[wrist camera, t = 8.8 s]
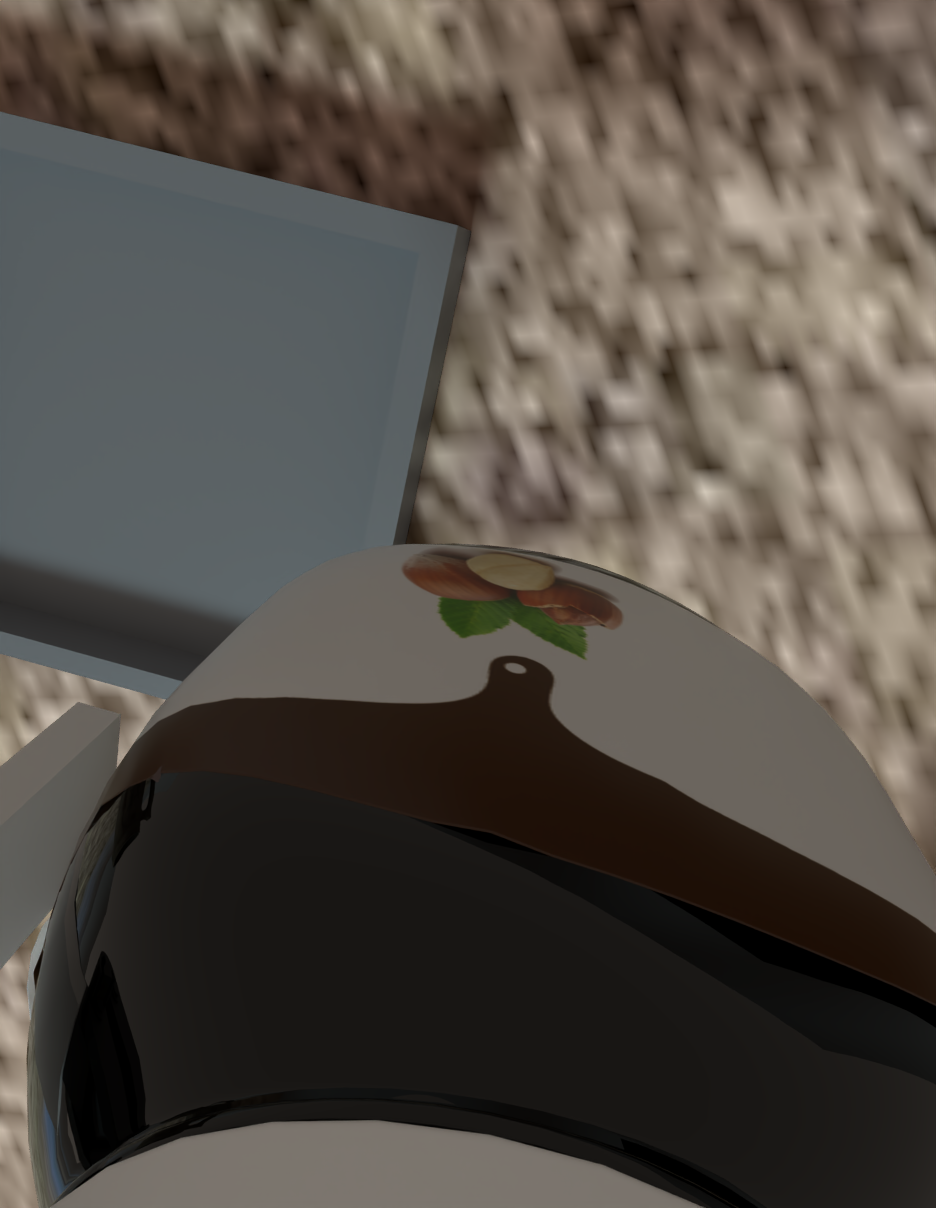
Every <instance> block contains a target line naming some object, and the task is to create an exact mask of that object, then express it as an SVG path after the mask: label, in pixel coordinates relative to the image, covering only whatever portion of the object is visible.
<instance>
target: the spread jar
mask: <svg viewBox="0 0 936 1208" xmlns="http://www.w3.org/2000/svg"><path fill="white" fill-rule="evenodd" d="M27 992H28V1002H29V1011H30V1026H29V1033H28V1047H27V1110H28V1142H29V1150H30V1158H31V1165H32V1172H33V1178H34V1183H35V1189H36V1195H37V1201H38V1206H39V1208H936V875H935V874H934V872H933V870H932V869H931V867H930V865H929V864H928V862H927V860H926V858H925V857H924V855H923V853H922V852H921V850H920V848H919V847H918V845H917V843H916V842H915V840H914V838H913V837H912V835H911V833H910V832H909V830H908V828H907V826H906V825H905V823H904V821H903V820H902V818H901V816H900V814H899V813H898V811H897V809H896V808H895V806H894V804H893V802H892V801H891V799H890V797H889V796H888V794H887V792H886V791H885V789H884V787H883V786H882V784H881V783H880V781H879V780H878V778H877V776H876V775H875V773H874V772H873V770H872V769H871V767H870V766H869V764H868V762H867V761H866V759H865V758H864V757H863V755H862V754H861V753H860V752H859V750H858V749H857V748H856V746H855V745H854V744H853V743H852V741H851V740H850V739H849V738H848V736H847V735H846V734H845V733H844V731H843V730H842V729H841V728H840V727H839V726H838V724H837V723H836V722H835V721H834V720H833V719H832V718H831V716H830V715H829V714H828V713H827V712H826V711H825V710H824V708H823V707H822V706H821V705H819V704H818V703H817V702H816V701H815V700H814V699H813V698H812V697H811V696H810V695H809V694H808V693H807V692H806V691H805V690H804V689H803V688H801V687H800V686H799V685H798V684H797V683H796V682H795V681H793V680H792V679H791V678H790V677H789V676H788V675H787V674H785V673H784V672H783V671H782V670H781V669H780V668H779V667H777V666H776V665H775V664H773V663H772V662H770V661H769V660H768V659H766V658H765V657H763V656H762V655H760V654H759V653H758V652H756V651H755V650H753V649H752V648H751V647H749V646H748V645H746V644H744V643H743V642H741V641H740V640H738V639H737V638H735V637H733V636H732V635H730V634H729V633H727V632H726V631H724V630H723V629H721V628H720V627H718V626H717V625H715V624H714V623H712V622H711V621H709V620H707V619H706V618H704V617H703V616H701V615H699V614H697V613H696V612H694V611H692V610H691V609H689V608H687V607H686V606H684V605H682V604H681V603H679V602H677V601H675V600H673V599H671V598H669V597H667V596H665V595H663V594H661V593H659V592H658V591H656V590H654V589H652V588H649V587H647V586H645V585H643V584H640V583H638V582H636V581H634V580H631V579H629V578H627V577H624V576H622V575H619V574H616V573H614V572H611V571H608V570H606V569H603V568H600V567H597V566H594V565H591V564H587V563H584V562H580V561H577V560H573V559H569V558H565V557H560V556H556V555H551V554H547V553H542V552H536V551H530V550H523V549H517V548H509V547H499V546H489V545H474V544H454V543H452V544H403V545H392V546H381V547H374V548H370V549H366V550H362V551H358V552H354V553H350V554H346V555H344V556H340V557H337V558H334V559H331V560H328V561H326V562H324V563H322V564H320V565H319V566H317V567H315V568H313V569H311V570H309V571H307V572H305V573H303V574H302V575H300V576H299V577H297V578H296V579H294V580H292V581H291V582H289V583H288V584H286V585H285V586H283V587H282V588H281V589H280V590H278V591H277V592H276V593H275V594H274V595H273V596H272V597H270V598H269V599H268V600H267V601H266V602H265V603H264V604H262V605H261V606H260V607H259V608H258V609H257V610H256V611H255V612H254V613H252V614H251V615H250V616H249V617H248V618H247V619H246V620H245V621H244V622H242V623H241V624H240V625H239V626H238V627H237V628H236V629H235V630H234V631H233V632H232V633H231V634H230V635H229V636H228V637H227V638H226V639H225V640H224V641H223V642H222V643H221V644H220V645H219V646H218V647H217V648H216V649H215V650H214V651H213V652H212V653H211V654H210V655H209V656H208V657H207V658H206V659H205V660H204V661H203V662H202V663H201V664H200V665H199V666H198V667H197V668H196V669H195V670H194V671H193V672H192V673H191V674H190V675H189V676H188V677H187V678H186V679H185V680H184V681H183V682H182V683H181V684H180V685H179V686H178V687H177V689H176V690H175V691H174V692H173V693H172V694H171V695H170V696H169V698H168V699H167V700H166V701H165V702H164V703H163V704H162V705H161V707H160V708H159V709H158V710H157V711H156V712H155V713H154V715H153V716H152V717H151V719H150V720H149V722H148V723H147V725H146V726H145V728H144V729H143V731H142V732H141V734H140V735H139V737H138V738H137V739H136V741H135V742H134V744H133V745H132V747H131V748H130V750H129V751H128V753H127V754H126V756H125V757H124V759H123V760H122V761H121V763H120V764H119V766H118V767H117V769H116V770H115V772H114V773H113V775H112V776H111V778H110V779H109V781H108V782H107V784H106V786H105V788H104V790H103V792H102V794H101V796H100V798H99V800H98V802H97V804H96V807H95V809H94V811H93V813H92V814H91V816H90V818H89V820H88V822H87V824H86V825H85V827H84V829H83V831H82V833H81V835H80V836H79V839H78V842H77V844H76V847H75V850H74V852H73V855H72V858H71V860H70V863H69V866H68V868H67V871H66V874H65V876H64V879H63V882H62V884H61V887H60V889H59V892H58V895H57V898H56V901H55V904H54V907H53V910H52V913H51V916H50V918H49V919H48V920H47V921H46V923H45V924H44V925H43V926H42V928H41V931H40V933H39V936H38V938H37V941H36V943H35V945H34V948H33V950H32V953H31V959H30V967H29V975H28V983H27Z"/></svg>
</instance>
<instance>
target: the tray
mask: <svg viewBox="0 0 936 1208" xmlns="http://www.w3.org/2000/svg"><path fill="white" fill-rule="evenodd" d="M470 235H471V231H470V230H467V229H465V228H463V227H461V226H458V225H454V224H450V223H446V222H442V221H438V220H434V219H430V218H426V217H422V216H418V215H414V214H410V213H406V212H402V211H398V210H394V209H390V208H386V207H382V206H378V205H374V204H370V203H366V202H362V201H358V200H354V199H350V198H346V197H342V196H338V195H334V194H330V193H326V192H322V191H317V190H313V189H309V188H305V187H301V186H297V185H293V184H289V183H285V182H281V181H277V180H273V179H269V178H265V177H261V176H257V175H253V174H249V173H245V172H241V171H237V170H233V169H229V168H225V167H221V166H217V165H213V164H209V163H205V162H201V161H197V160H193V159H189V158H185V157H181V156H177V155H172V154H168V153H164V152H160V151H156V150H152V149H148V148H144V147H140V146H136V145H132V144H128V143H124V142H120V141H116V140H112V139H108V138H104V137H100V136H96V135H92V134H88V133H84V132H80V131H76V130H72V129H68V128H64V127H60V126H56V125H52V124H48V123H44V122H40V121H36V120H32V119H27V118H23V117H19V116H15V115H11V114H7V113H3V112H0V654H4V655H7V656H11V657H15V658H18V659H22V660H25V661H29V662H33V663H36V664H40V665H43V666H47V667H51V668H54V669H58V670H61V671H65V672H69V673H72V674H76V675H79V676H83V677H87V678H90V679H94V680H98V681H101V682H105V683H108V684H112V685H116V686H119V687H123V688H126V689H130V690H134V691H137V692H141V693H144V694H148V695H152V696H155V697H159V698H162V699H166V700H167V699H168V698H169V696H170V695H171V694H172V693H173V692H174V691H175V690H176V689H177V687H178V686H179V685H180V684H181V683H182V682H183V681H184V680H185V679H186V678H187V677H188V676H189V675H190V674H191V673H192V672H193V671H194V670H195V669H196V668H197V667H198V666H199V665H200V664H201V663H202V662H203V661H204V660H205V659H206V658H207V657H208V656H209V655H210V654H211V653H212V652H213V651H214V650H215V649H216V648H217V647H218V646H219V645H220V644H221V643H222V642H223V641H224V640H225V639H226V638H227V637H228V636H229V635H230V634H231V633H232V632H233V631H234V630H235V629H236V628H237V627H238V626H239V625H240V624H241V623H242V622H244V621H245V620H246V619H247V618H248V617H249V616H250V615H251V614H252V613H254V612H255V611H256V610H257V609H258V608H259V607H260V606H261V605H262V604H264V603H265V602H266V601H267V600H268V599H269V598H270V597H272V596H273V595H274V594H275V593H276V592H277V591H278V590H280V589H281V588H282V587H283V586H285V585H286V584H288V583H289V582H291V581H292V580H294V579H296V578H297V577H299V576H300V575H302V574H303V573H305V572H307V571H309V570H311V569H313V568H315V567H317V566H319V565H320V564H322V563H324V562H326V561H328V560H331V559H334V558H337V557H340V556H344V555H346V554H350V553H354V552H358V551H362V550H366V549H370V548H374V547H381V546H392V545H403V544H406V539H407V534H408V530H409V525H410V520H411V515H412V511H413V506H414V501H415V496H416V492H417V487H418V482H419V477H420V473H421V468H422V463H423V458H424V454H425V449H426V444H427V439H428V434H429V430H430V425H431V420H432V415H433V411H434V406H435V401H436V396H437V392H438V387H439V382H440V377H441V373H442V368H443V363H444V358H445V354H446V349H447V344H448V339H449V335H450V330H451V325H452V320H453V316H454V311H455V306H456V301H457V296H458V292H459V287H460V282H461V277H462V273H463V268H464V263H465V258H466V254H467V249H468V244H469V239H470Z"/></svg>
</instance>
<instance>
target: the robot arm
mask: <svg viewBox="0 0 936 1208" xmlns="http://www.w3.org/2000/svg"><path fill="white" fill-rule="evenodd" d="M120 719H121V714H118V713H115V712H111V711H108V710H104V709H101V708H97V707H94V706H90V705H87V704H84V703H80V702H78V703H77V704H75V705H74V706H73V707H72V708H71V709H69V710H68V711H67V712H66V713H65V714H63V715H62V716H61V717H60V718H59V719H57V720H56V721H55V722H54V723H53V724H51V725H50V726H49V727H48V728H46V729H45V730H44V731H43V732H42V733H40V734H39V735H38V736H37V737H36V738H34V739H33V740H32V741H31V742H30V743H28V744H27V745H26V746H25V747H24V748H22V749H21V750H20V751H19V752H18V753H16V754H15V755H14V756H13V757H11V758H10V759H9V760H8V761H7V762H5V763H4V764H3V765H2V766H1V767H0V969H1V968H2V967H3V966H4V965H5V963H6V962H7V961H8V960H9V959H10V957H11V956H12V955H13V954H14V953H15V952H16V950H17V949H18V948H19V947H20V946H21V945H22V943H23V942H24V941H25V940H26V939H27V938H28V936H29V935H30V934H31V933H32V932H33V930H34V929H35V928H36V927H37V926H38V925H39V923H40V922H41V921H42V920H43V919H44V918H45V916H46V915H47V914H48V913H49V912H50V911H51V909H52V908H53V907H54V904H55V901H56V898H57V895H58V892H59V889H60V887H61V884H62V882H63V879H64V876H65V874H66V871H67V868H68V866H69V863H70V860H71V858H72V855H73V852H74V850H75V847H76V844H77V842H78V839H79V836H80V835H81V833H82V831H83V829H84V827H85V825H86V824H87V822H88V820H89V818H90V816H91V814H92V813H93V811H94V809H95V807H96V804H97V802H98V800H99V798H100V796H101V794H102V792H103V790H104V788H105V786H106V784H107V782H108V781H109V779H110V778H111V776H112V775H113V773H114V772H115V770H116V767H117V755H118V743H119V731H120Z"/></svg>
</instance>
